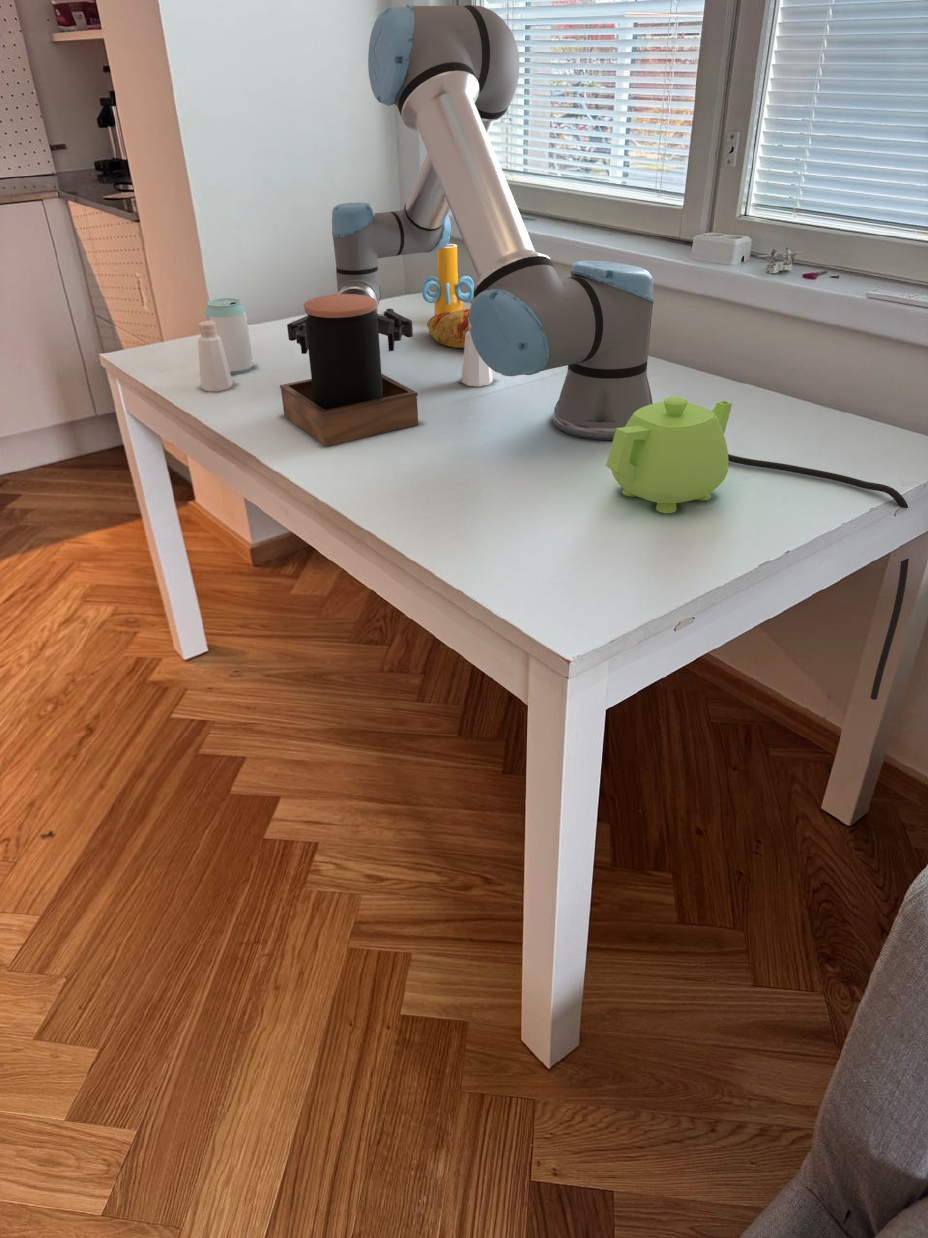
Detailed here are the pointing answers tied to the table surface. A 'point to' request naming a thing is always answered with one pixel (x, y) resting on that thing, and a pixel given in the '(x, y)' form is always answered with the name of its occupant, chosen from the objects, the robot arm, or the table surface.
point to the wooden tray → (350, 412)
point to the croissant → (450, 327)
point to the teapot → (671, 452)
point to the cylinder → (448, 283)
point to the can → (232, 332)
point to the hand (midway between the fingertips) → (346, 343)
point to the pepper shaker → (474, 365)
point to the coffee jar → (343, 350)
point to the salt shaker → (212, 359)
